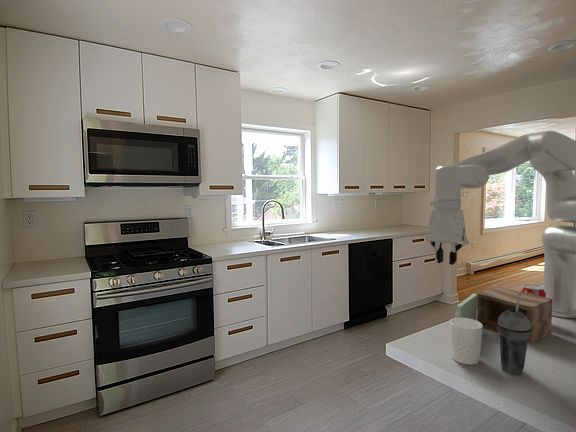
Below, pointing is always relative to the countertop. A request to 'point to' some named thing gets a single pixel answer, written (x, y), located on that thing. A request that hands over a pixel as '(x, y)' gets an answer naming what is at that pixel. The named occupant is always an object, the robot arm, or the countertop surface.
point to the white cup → (465, 340)
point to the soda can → (534, 290)
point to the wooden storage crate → (506, 299)
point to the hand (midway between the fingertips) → (446, 262)
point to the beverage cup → (513, 339)
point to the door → (467, 308)
